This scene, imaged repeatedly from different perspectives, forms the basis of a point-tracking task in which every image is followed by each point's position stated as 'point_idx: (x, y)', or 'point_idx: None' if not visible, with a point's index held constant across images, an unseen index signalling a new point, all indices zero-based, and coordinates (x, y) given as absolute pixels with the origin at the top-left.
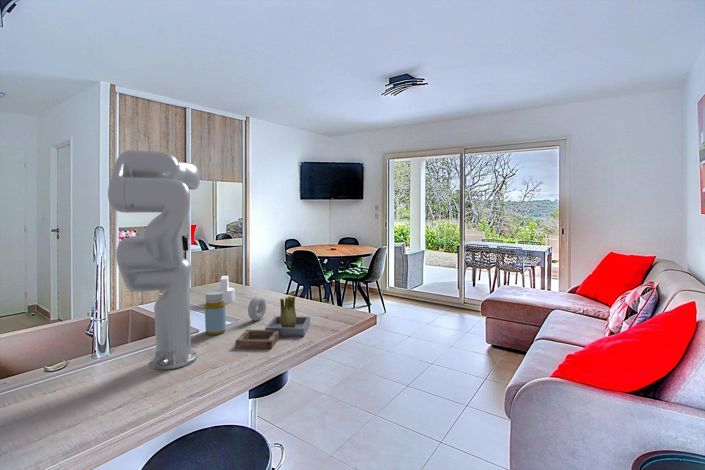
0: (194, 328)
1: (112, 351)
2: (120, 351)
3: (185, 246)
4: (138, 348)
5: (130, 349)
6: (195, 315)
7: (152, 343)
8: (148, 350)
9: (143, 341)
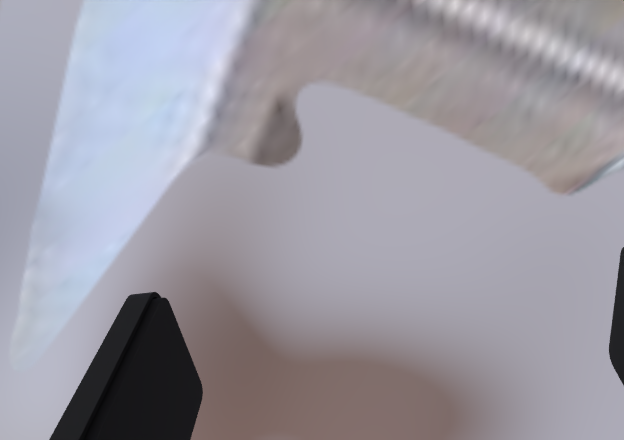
0: (257, 13)
1: (590, 174)
2: (591, 143)
3: (150, 365)
4: (556, 94)
5: (568, 120)
6: (82, 148)
7: (491, 77)
8: (581, 29)
9: (470, 135)
